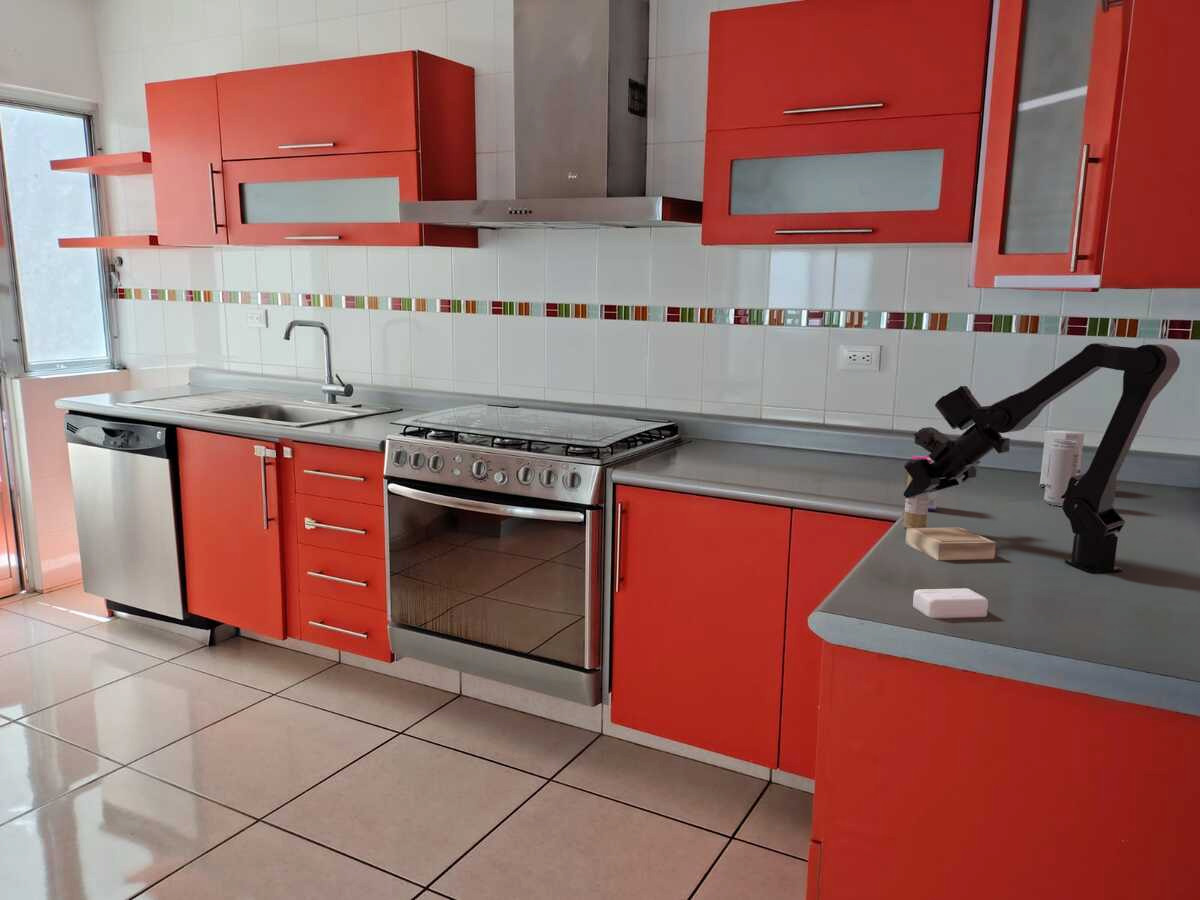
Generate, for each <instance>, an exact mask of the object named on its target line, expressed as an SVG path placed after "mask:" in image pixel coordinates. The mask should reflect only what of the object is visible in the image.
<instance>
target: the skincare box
mask: <svg viewBox="0 0 1200 900" xmlns="http://www.w3.org/2000/svg"><path fill="white" fill-rule="evenodd" d="M1044 433H1045V434H1044V442H1043V451H1042V460H1041V468H1040V469H1041V470H1040V471H1041V472H1040V478H1039V479H1040V480H1039V485H1040V484H1045V485H1046V478H1047V469H1048V460H1049V451H1050V446H1051V445H1052V444H1053V442H1054V440H1056V439H1061V440H1072V441H1076V442H1077V446H1078V448H1079V456H1078V464H1077V473H1076V476H1077V475H1081V466H1082V457H1083V456H1082V455H1083V447H1084V438H1085V437H1084V436H1085V432H1080V431H1079V432H1077V431H1069V430H1046V431H1045V432H1044Z"/></svg>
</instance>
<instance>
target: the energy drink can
mask: <svg viewBox="0 0 1200 900" xmlns="http://www.w3.org/2000/svg"><path fill="white" fill-rule="evenodd" d="M1078 456H1079V448H1078V446H1077V442H1076V441H1072V440H1061V439H1056V440H1054V442H1053V444H1052V445H1051V446H1050V451H1049V460H1048V469H1047V478H1046V487H1045V488H1044V498H1043V499H1044V501H1045V502H1046V501H1047V502H1050V503H1055V504H1063V501H1064V499H1065V498H1063V499H1062V498H1061V496H1062V495H1063V494H1064V493H1065V492H1066V490H1067V487H1068V483H1069V480H1070V478H1071V477H1073V476H1076V473H1077V464H1078Z"/></svg>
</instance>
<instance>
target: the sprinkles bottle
mask: <svg viewBox="0 0 1200 900" xmlns="http://www.w3.org/2000/svg"><path fill="white" fill-rule="evenodd" d="M907 473H908V472H907ZM911 481H912V477H911V476H910V474H909V473H908V476H907V483H906V484H907V486H906V488H907V487H908V486H909V484H910V482H911ZM904 502H905V503H904V504H905V505H904V514H903V515H904V516H903V523H902V526H903V528H905V529H907V528H927V518H928V517H927V516H928V512H929V511H928V502H929V492H926V493H923V494H920V495H916V496H913V497H910V498H905V501H904Z"/></svg>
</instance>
